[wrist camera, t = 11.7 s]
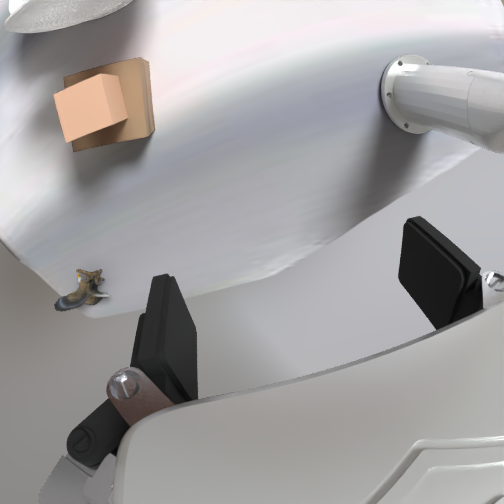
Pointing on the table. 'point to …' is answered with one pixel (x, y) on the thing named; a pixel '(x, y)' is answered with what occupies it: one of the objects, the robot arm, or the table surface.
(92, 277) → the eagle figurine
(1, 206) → the table surface
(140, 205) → the table surface
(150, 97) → the walnut block
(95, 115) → the peach block
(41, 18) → the white toilet model
